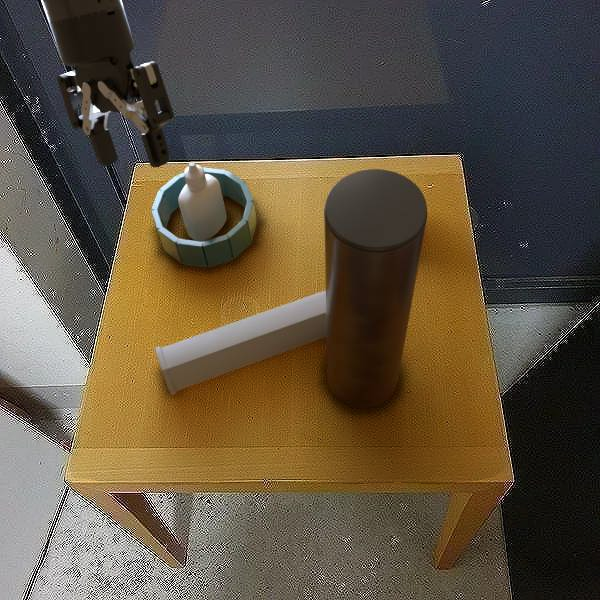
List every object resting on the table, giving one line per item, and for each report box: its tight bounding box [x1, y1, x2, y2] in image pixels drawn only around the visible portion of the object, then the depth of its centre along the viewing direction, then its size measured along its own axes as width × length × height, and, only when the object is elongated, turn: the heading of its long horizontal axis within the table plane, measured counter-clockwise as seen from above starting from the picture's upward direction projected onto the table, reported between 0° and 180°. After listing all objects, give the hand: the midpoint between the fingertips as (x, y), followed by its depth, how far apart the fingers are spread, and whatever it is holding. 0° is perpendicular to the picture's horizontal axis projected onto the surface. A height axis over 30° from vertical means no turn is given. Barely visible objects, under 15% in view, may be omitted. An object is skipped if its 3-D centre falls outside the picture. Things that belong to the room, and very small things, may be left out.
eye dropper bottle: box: [178, 161, 228, 242], centre depth 86 cm, size 4×6×12 cm
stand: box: [323, 168, 428, 409], centre depth 66 cm, size 8×8×30 cm
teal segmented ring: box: [150, 166, 258, 268], centre depth 89 cm, size 13×13×4 cm
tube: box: [154, 289, 327, 396], centre depth 79 cm, size 5×5×25 cm
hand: (134, 164), depth 76 cm, fingers open, 8 cm apart
